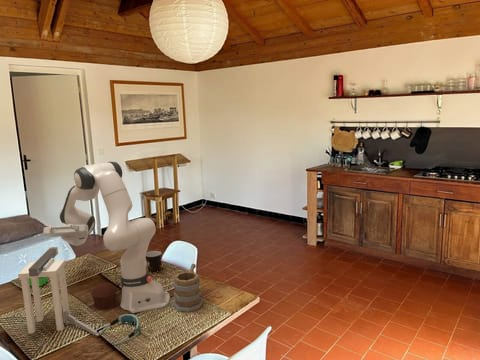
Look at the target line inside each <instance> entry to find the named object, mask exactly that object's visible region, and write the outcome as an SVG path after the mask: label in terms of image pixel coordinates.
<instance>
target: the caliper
mask: <svg viewBox="0 0 480 360" xmlns="http://www.w3.org/2000/svg"><path fill="white" fill-rule="evenodd" d="M62 317H63V325H67V326H68V325H70V323H71V324H72V325H76V326H78V327H80V328H82V329H83V330H85V331H86V332H88V333H90V334H92V335H93V336H97V337H98V335H99V334H100V333H98V331H97V330H95V329H94V328H92V327H91V326H89V325H87V324H85V323H83V322H82V321H80V320H78V319H77V317H75V316H73V315H72V314H71V313H70V314H69V312H67V310H66V311H65V312H64V313H63V312H62Z"/></svg>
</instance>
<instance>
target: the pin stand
mask: <svg viewBox="0 0 480 360" xmlns="http://www.w3.org/2000/svg"><path fill="white" fill-rule="evenodd" d="M35 262H36V261H32V262H29V263H28V264H27V265H26V266H25V267H24V268H23V269H22V270H21V271H19V272H18V279H19V280H20V283H21V288H22V297H23V304H24V312H25V313H24V314H25V317H26V318H25V319H26V326H27V331H28V332H27V333H28V334H31V335H32V334H35V332H36V331H37V330H36V324H35V318H36V322H43V320H44V311H43V306H42V305H43V304H42V298H41V297H42V296H41V289H40V288H41V287H39V280H38V277H48V278H50V285H51V293H52V299H53V300H52V301H53V310H54V317H55V326H56V331H58V332H59V331H63V329H64V328H65V327H64V325H65V324H64V320H63V313H64V312H65V311H66V310H67V312H69V314H70V315H71V311H70V303H69V296H68V295H69V294H68V288H67V287H68V286H67V285H68V284H67V279H66V278H67V277H66V270H65V266H66V264H67V263H66V259H55V257H54V258H51V259H50V260H49V261H48V263H47V264H46V265H45V266H44V267H43V271H42V272H41V273H40V274H39V275H38V276H32V277H29V270H28V269H29V268H30V267H31V266H32V265H33V264H34V263H35ZM29 278H31V282H32V287H30V286H29ZM31 288H32V295H31ZM32 296H33V299H32ZM32 300H33V301H32ZM33 302H34V309H33ZM34 311H35V317H34Z"/></svg>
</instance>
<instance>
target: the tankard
mask: <svg viewBox="0 0 480 360" xmlns="http://www.w3.org/2000/svg"><path fill="white" fill-rule="evenodd" d="M196 266H197V265H196V264H195V263H192V264H191V266H190V268H189V270H188V271H187V270H186V271H183V272H179V273H177V274H176V275H175V276H174V278H173V279H174V281H173V282H172V286H173V289H174V292H173V298H174V301H173V303H172V307H173V308H174V309H175V310H176V311H177V312H182V311H183V313H184V312H186V313H190V311H191V312H193V311H196V310H199V309H200V308H201V307H202V304H204V300H203V299H202V297H201V295H202V291H201V289H200V285H201V279H200V276H199V274H197V272H195V271H194V270H195V269H196Z"/></svg>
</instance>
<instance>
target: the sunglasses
mask: <svg viewBox="0 0 480 360" xmlns="http://www.w3.org/2000/svg"><path fill="white" fill-rule="evenodd" d="M118 322H119V323H120V324H121V323H124V324H126V323H125V322H128V323H127V324H130V323H132V324H131V326H132V325H133V324H134V323H135V324H134V325H133V326H134V327H135V329H134V330H133V331H132V332H131V333H130V334H128V335H127V336H126V337H125V338H123V339H122V340H120V341H119V342H116V343H113V344H112V345H111V347H114V345H115V346H117V345H116V344H118V345H120V344H122V343H124V342H125V341H126V340H127V339H131V338H133V337H134V336H135V335H136V334H137V335H140V332H139V331H141V330H140V323H139V319H138V316H137V315H135V314H134V313H129V314H128V313H126V314H122V315H119V316H118V317H117V318H115V319H114V320H113V321H111V322H110V323H109V324H107V325H106V326H104V328H103V329H102V330H101V331H100V333H99V335H98V336H97V337H98V338H99V337H100V336H101V335H102V334H103V332H105V331H106V330H107V328H109V327H110V326H111V327H112V326H114V325H115V324H117V323H118ZM101 333H102V334H101ZM119 343H120V344H119Z"/></svg>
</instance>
